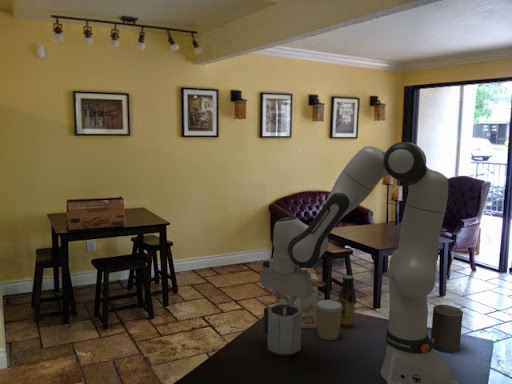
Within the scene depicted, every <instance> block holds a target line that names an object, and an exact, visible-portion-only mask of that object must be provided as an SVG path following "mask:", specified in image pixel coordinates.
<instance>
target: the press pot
mask: <svg viewBox="0 0 512 384" xmlns="http://www.w3.org/2000/svg"><path fill="white" fill-rule="evenodd" d="M301 318H302V312H301V309H300V308H299V307H296V306H295V305H294V307H290V306H289V307H287V308H286V315H283V307H281V306H280V304H279V303H277V304H276V303H275V304H274V305H271V306H267V307H265V308H263V326H262V327H263V334H264V335H267V351H268V353H269V354H271V355H274V357H281V358H291V357H295V356H298V354H299V353H300V351H301V347H302V346H301V344H302V328H301Z"/></svg>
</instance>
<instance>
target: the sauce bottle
mask: <svg viewBox="0 0 512 384" xmlns="http://www.w3.org/2000/svg"><path fill="white" fill-rule="evenodd" d="M353 283H354V277H353V275H349V274H344V275H343V276H342V286H341V289H340V291H339V294H338V301H337V302H339V303H340V304H341V306H342V311H341V321H340V327H341V328H344V329H347V328H348V329H349V328H352V327H353V325H354V319H355V318H354V316H355V305H356V303H355V298H356V294H355V291H354V289H353V287H354V286H353Z"/></svg>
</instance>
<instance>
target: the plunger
mask: <svg viewBox="0 0 512 384" xmlns="http://www.w3.org/2000/svg"><path fill="white" fill-rule="evenodd" d="M280 297H281V298H280V299H279V303H278V304H280V306H281V307H283V315H286V308H287V307H289V306H288V301H290V300H291V297H289V296H288V295H282V296H280Z"/></svg>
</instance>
